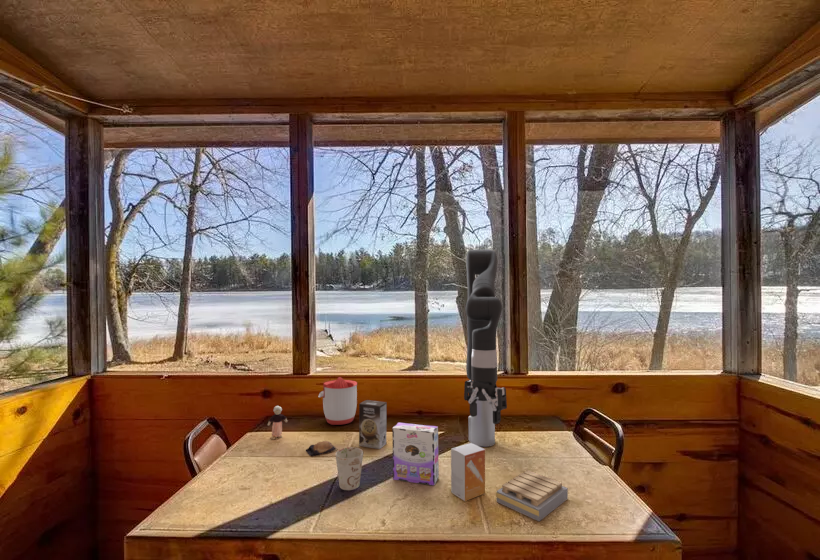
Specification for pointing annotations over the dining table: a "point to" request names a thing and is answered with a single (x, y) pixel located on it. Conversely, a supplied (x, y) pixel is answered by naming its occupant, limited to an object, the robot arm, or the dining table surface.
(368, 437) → the coffee box
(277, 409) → the grandmother figurine
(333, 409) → the citrus juicer
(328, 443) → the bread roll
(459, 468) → the small box
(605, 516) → the dining table surface
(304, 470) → the dining table surface
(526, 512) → the rack
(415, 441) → the candy box
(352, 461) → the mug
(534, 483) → the pallet
